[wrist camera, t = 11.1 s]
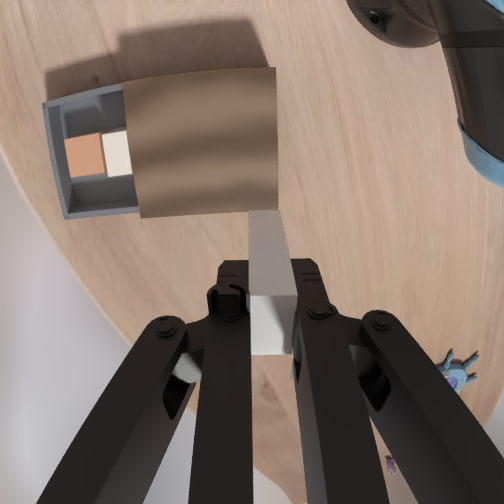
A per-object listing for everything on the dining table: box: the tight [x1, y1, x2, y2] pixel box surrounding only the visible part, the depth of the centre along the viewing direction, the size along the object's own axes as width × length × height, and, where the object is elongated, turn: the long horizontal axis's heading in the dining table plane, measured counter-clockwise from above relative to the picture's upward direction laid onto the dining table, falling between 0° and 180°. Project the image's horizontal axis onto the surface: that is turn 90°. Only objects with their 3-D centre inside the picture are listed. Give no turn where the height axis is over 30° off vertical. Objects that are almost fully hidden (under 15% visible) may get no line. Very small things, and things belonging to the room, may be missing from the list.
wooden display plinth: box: [122, 67, 278, 218], centre depth 35 cm, size 16×16×6 cm
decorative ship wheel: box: [437, 352, 479, 394], centre depth 67 cm, size 30×3×30 cm
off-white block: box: [102, 126, 133, 177], centre depth 35 cm, size 5×5×3 cm
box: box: [42, 83, 140, 220], centre depth 36 cm, size 16×12×4 cm
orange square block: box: [64, 129, 108, 178], centre depth 35 cm, size 5×5×3 cm
